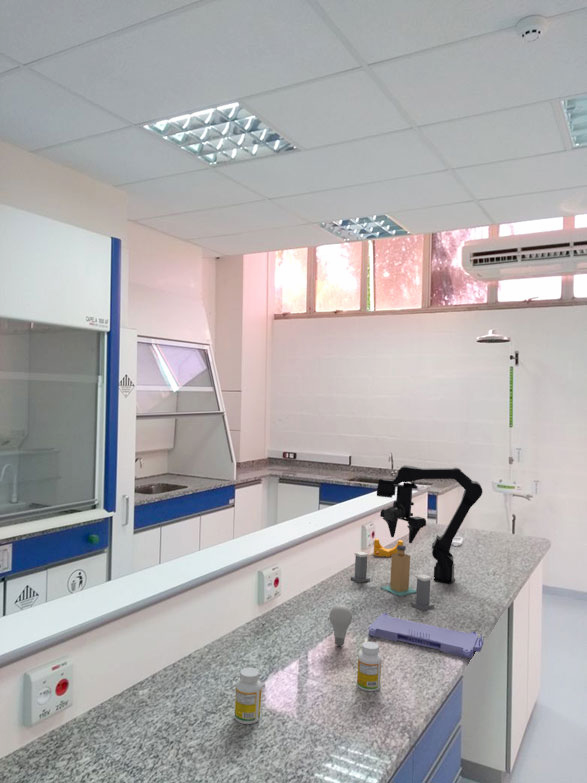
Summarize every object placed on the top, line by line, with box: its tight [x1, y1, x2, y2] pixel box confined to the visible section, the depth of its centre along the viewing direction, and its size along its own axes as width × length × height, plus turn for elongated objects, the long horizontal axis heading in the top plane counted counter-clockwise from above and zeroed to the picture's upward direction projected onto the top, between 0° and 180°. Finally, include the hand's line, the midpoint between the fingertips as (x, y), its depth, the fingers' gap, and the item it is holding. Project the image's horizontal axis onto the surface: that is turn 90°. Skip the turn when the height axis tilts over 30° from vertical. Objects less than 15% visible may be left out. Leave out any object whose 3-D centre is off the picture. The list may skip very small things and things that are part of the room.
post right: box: [350, 551, 371, 584], centre depth 218 cm, size 5×5×10 cm
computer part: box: [368, 612, 484, 659], centre depth 168 cm, size 30×4×15 cm
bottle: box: [389, 544, 411, 592], centre depth 209 cm, size 4×4×15 cm
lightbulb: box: [328, 604, 353, 647], centre depth 161 cm, size 6×6×11 cm
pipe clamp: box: [373, 538, 404, 558], centre depth 253 cm, size 12×4×6 cm, turn 85°
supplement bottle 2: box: [356, 641, 382, 692], centre depth 140 cm, size 5×5×10 cm
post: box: [410, 573, 435, 611], centre depth 194 cm, size 5×5×10 cm
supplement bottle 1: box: [234, 667, 263, 725], centre depth 124 cm, size 5×5×10 cm
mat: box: [380, 585, 417, 597], centre depth 209 cm, size 9×9×1 cm
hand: (401, 540), depth 227 cm, fingers open, 9 cm apart
